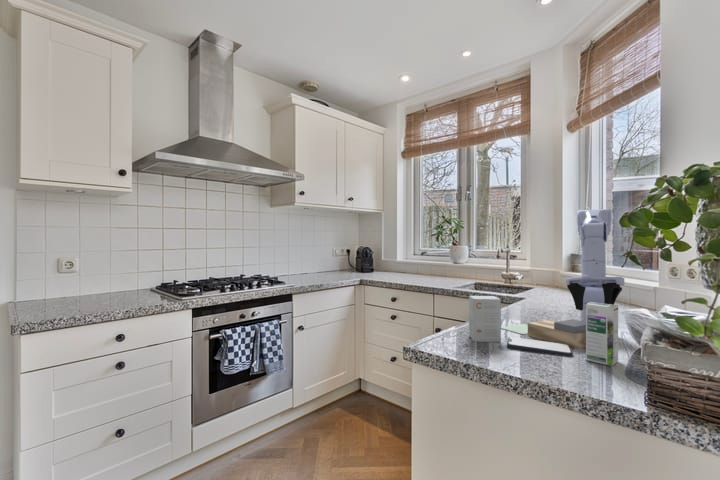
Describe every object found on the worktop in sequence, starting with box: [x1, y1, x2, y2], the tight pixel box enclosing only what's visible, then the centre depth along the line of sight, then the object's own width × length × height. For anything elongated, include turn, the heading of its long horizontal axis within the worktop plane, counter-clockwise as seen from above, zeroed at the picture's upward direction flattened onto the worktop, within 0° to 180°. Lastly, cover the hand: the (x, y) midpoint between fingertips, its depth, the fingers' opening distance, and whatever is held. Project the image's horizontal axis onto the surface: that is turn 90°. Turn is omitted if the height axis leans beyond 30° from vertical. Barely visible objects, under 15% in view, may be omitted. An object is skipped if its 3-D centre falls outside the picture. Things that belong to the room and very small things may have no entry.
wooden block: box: [527, 319, 586, 350], centre depth 105 cm, size 10×15×4 cm, turn 27°
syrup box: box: [585, 302, 619, 367], centre depth 86 cm, size 6×6×14 cm
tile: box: [554, 318, 586, 334], centre depth 101 cm, size 9×6×2 cm, turn 117°
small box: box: [468, 295, 502, 343], centre depth 104 cm, size 8×6×13 cm
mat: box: [501, 323, 528, 336], centre depth 116 cm, size 12×9×1 cm
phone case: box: [506, 336, 574, 358], centre depth 96 cm, size 9×2×16 cm
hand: (593, 310), depth 94 cm, fingers open, 7 cm apart
